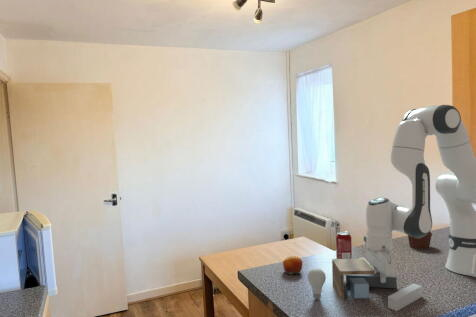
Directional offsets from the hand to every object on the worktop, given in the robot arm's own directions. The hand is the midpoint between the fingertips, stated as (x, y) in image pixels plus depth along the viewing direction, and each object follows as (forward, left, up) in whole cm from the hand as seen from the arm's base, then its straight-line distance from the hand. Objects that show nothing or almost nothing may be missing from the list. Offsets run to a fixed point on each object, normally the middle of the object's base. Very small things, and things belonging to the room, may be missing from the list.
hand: (380, 279), depth 132 cm
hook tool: (+5, +4, -3) cm, 7 cm away
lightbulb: (+25, +9, -3) cm, 27 cm away
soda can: (+5, -31, -3) cm, 31 cm away
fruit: (+30, -16, -3) cm, 34 cm away
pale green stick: (-2, -22, -3) cm, 22 cm away
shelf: (+11, +4, -3) cm, 12 cm away
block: (+10, +6, -3) cm, 12 cm away
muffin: (-36, -46, -3) cm, 58 cm away
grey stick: (-4, +12, -3) cm, 13 cm away
